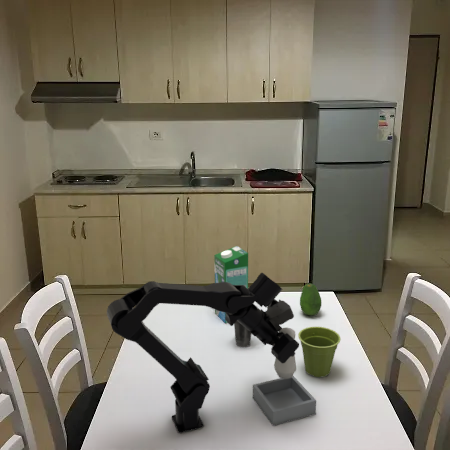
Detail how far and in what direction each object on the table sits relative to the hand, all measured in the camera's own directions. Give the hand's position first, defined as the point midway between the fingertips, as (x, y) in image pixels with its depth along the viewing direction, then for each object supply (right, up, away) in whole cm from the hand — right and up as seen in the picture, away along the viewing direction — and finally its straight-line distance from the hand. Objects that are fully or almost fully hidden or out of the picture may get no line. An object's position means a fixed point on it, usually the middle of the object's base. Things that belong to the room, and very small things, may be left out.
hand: (290, 351), depth 125 cm
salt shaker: (-1, -7, +1) cm, 7 cm away
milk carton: (-15, 0, +49) cm, 51 cm away
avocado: (+14, 0, +50) cm, 52 cm away
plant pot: (+10, -10, +15) cm, 20 cm away
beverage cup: (-11, -6, +30) cm, 33 cm away
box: (-2, -14, -1) cm, 14 cm away
